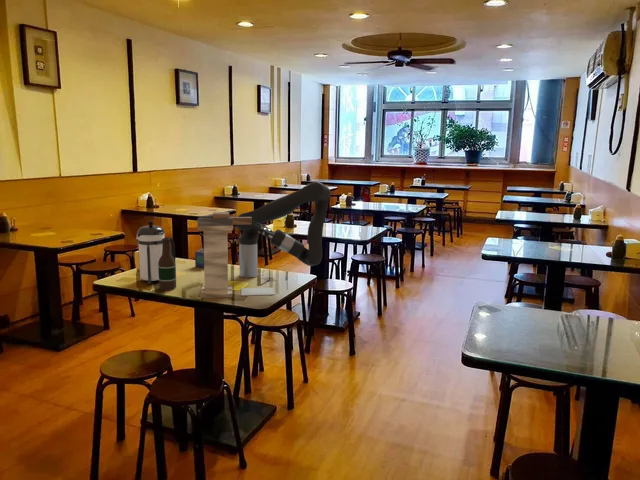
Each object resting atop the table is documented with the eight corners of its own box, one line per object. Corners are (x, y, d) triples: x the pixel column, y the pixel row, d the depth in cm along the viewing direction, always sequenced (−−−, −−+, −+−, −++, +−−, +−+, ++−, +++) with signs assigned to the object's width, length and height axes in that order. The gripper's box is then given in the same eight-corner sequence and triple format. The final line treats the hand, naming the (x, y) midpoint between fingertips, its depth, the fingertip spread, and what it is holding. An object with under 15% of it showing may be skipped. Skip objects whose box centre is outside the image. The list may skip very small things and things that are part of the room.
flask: (210, 268, 272) (209, 249, 270) (206, 269, 270) (206, 250, 268) (197, 266, 277) (196, 247, 275) (193, 267, 274) (193, 248, 272)
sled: (213, 223, 223) (213, 212, 222) (251, 222, 226) (251, 212, 225) (212, 225, 217) (212, 213, 216) (251, 225, 220) (251, 213, 219)
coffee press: (165, 285, 237) (163, 223, 231) (132, 284, 237) (129, 222, 232) (176, 276, 254) (174, 218, 248) (145, 275, 254) (143, 217, 249)
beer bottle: (155, 289, 231) (153, 238, 226) (167, 285, 237) (165, 236, 233) (167, 291, 227) (166, 240, 223) (179, 287, 234) (178, 237, 230)
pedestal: (201, 289, 232) (199, 215, 225) (233, 288, 234) (232, 215, 228) (198, 298, 218) (196, 219, 212) (233, 297, 221) (232, 219, 214)
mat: (241, 289, 233) (241, 288, 233) (272, 288, 236) (272, 287, 236) (241, 296, 223) (241, 295, 223) (274, 295, 225) (274, 294, 225)
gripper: (285, 231, 233) (255, 214, 230) (288, 236, 220) (256, 218, 216) (277, 244, 234) (247, 228, 230) (279, 251, 220) (247, 233, 216)
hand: (251, 223), depth 223 cm, fingers open, 8 cm apart
